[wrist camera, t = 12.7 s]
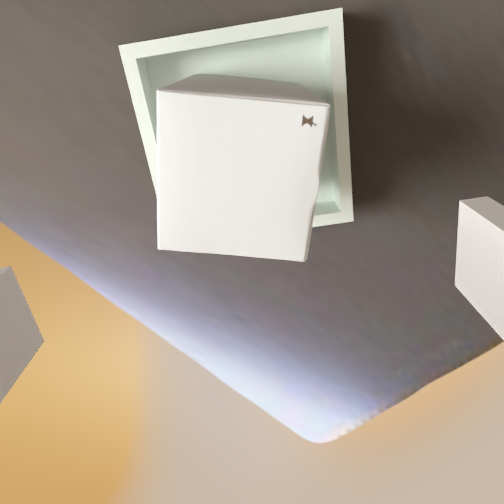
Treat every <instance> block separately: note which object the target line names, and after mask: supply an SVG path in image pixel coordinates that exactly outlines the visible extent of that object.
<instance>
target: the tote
mask: <svg viewBox="0 0 504 504" xmlns="http://www.w3.org/2000/svg"><path fill="white" fill-rule="evenodd" d="M119 50H120V54H121V58H122V62H123V66H124V70H125V74H126V78H127V82H128V86H129V89H130V93H131V97H132V101H133V105H134V109H135V113H136V117H137V121H138V125H139V129H140V133H141V137H142V141H143V144H144V148H145V152H146V156H147V160H148V164H149V168H150V172H151V176H152V180H153V184H154V188H155V192H156V195H157V90H158V89H160V88H163V87H165V86H168V85H170V84H173V83H175V82H177V81H180V80H182V79H184V78H187V77H189V76H191V75H194V74H212V75H226V76H236V77H247V78H257V79H266V80H276V81H285V82H294V83H299V84H301V85H302V86H304V87H305V88H307V89H308V90H310V91H311V92H312V93H314V94H315V95H317V96H318V97H319V98H321V99H322V100H324V101H325V102H327V103H328V104H330V105H331V110H330V117H329V124H328V130H327V136H326V142H325V148H324V155H323V161H322V168H321V174H320V183H319V192H318V196H317V200H316V206H315V212H314V218H313V224H312V227H317V226H324V225H331V224H338V223H345V222H352V221H354V220H353V201H352V182H351V163H350V144H349V126H348V107H347V88H346V69H345V50H344V31H343V12H342V8H337V9H331V10H326V11H320V12H314V13H308V14H302V15H296V16H290V17H284V18H278V19H273V20H267V21H261V22H255V23H249V24H243V25H237V26H231V27H226V28H220V29H214V30H208V31H202V32H196V33H190V34H184V35H178V36H173V37H167V38H161V39H155V40H149V41H143V42H137V43H131V44H125V45H120V46H119Z"/></svg>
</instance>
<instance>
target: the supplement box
mask: <svg viewBox="0 0 504 504" xmlns="http://www.w3.org/2000/svg"><path fill="white" fill-rule="evenodd" d="M330 110H331V105H330V104H328V103H327V102H325V101H324V100H322V99H321V98H319V97H318V96H317V95H315V94H314V93H312V92H311V91H310V90H308V89H307V88H305V87H304V86H302V85H301V84H299V83H294V82H285V81H276V80H266V79H257V78H247V77H236V76H226V75H212V74H194V75H191V76H189V77H187V78H184V79H182V80H180V81H177V82H175V83H173V84H170V85H168V86H165V87H163V88H160V89H158V90H157V231H158V249H159V250H173V251H184V252H199V253H214V254H225V255H238V256H248V257H259V258H270V259H282V260H292V261H302V262H305V261H306V260H307V256H308V250H309V243H310V237H311V230H312V224H313V218H314V212H315V206H316V200H317V196H318V192H319V183H320V174H321V168H322V161H323V155H324V148H325V142H326V136H327V130H328V124H329V117H330Z"/></svg>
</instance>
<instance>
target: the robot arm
mask: <svg viewBox="0 0 504 504" xmlns="http://www.w3.org/2000/svg"><path fill="white" fill-rule="evenodd" d="M455 286H456V287H457V288H458V290H459V291H460V292H461V293H462V294H463V295H464V296H465V297H466V299H467V300H468V301H469V302H470V303H471V304H472V305H473V306H474V307H475V309H476V310H477V311H478V312H479V313H480V314H481V315H482V316H483V318H484V319H485V320H486V321H487V322H488V323H489V324H490V325H491V327H492V328H493V329H494V330H495V331H496V332H497V333H498V334H499V336H500V337H501V338H502V339H503V340H504V206H503V205H501V204H499V203H498V202H496V201H494V200H493V199H491V198H489V197H488V196H487V197H480V198H473V199H466V200H460V201H459V219H458V237H457V255H456V273H455ZM43 342H44V340H43V338H42V335H41V333H40V331H39V328H38V326H37V324H36V322H35V320H34V317H33V315H32V313H31V310H30V308H29V306H28V304H27V301H26V299H25V297H24V295H23V293H22V290H21V288H20V286H19V284H18V281H17V279H16V277H15V274H14V272H13V270H12V268H11V266H10V267H3V268H0V403H1V401H2V400H3V399H4V397H5V396H6V394H7V393H8V391H9V390H10V389H11V387H12V386H13V384H14V383H15V382H16V380H17V379H18V377H19V376H20V374H21V373H22V372H23V370H24V369H25V367H26V366H27V365H28V363H29V362H30V360H31V359H32V358H33V356H34V355H35V353H36V352H37V351H38V349H39V348H40V346H41V345H42V343H43Z"/></svg>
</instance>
